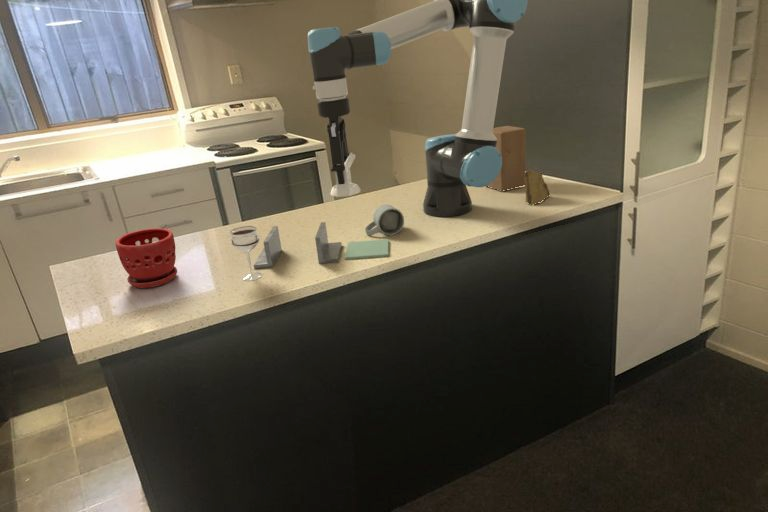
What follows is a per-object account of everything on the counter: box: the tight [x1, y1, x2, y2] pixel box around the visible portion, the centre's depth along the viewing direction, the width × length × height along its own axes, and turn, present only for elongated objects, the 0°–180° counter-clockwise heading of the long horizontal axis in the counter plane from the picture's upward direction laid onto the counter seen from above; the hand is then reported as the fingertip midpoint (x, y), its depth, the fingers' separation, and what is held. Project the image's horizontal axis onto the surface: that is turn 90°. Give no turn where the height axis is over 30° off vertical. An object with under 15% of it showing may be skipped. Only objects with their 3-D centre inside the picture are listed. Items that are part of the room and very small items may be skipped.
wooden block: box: [487, 125, 527, 191], centre depth 183 cm, size 10×10×20 cm
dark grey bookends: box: [253, 221, 343, 270], centre depth 140 cm, size 21×12×7 cm, turn 89°
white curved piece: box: [330, 151, 361, 198], centre depth 134 cm, size 8×12×7 cm
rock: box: [524, 170, 551, 206], centre depth 167 cm, size 11×9×10 cm
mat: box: [344, 238, 389, 260], centre depth 141 cm, size 11×11×1 cm
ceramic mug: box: [364, 204, 405, 236], centre depth 152 cm, size 11×8×8 cm
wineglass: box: [228, 225, 263, 282], centre depth 129 cm, size 7×7×12 cm
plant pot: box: [115, 228, 178, 289], centre depth 132 cm, size 13×13×12 cm
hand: (345, 191), depth 135 cm, fingers closed on white curved piece, 8 cm apart
